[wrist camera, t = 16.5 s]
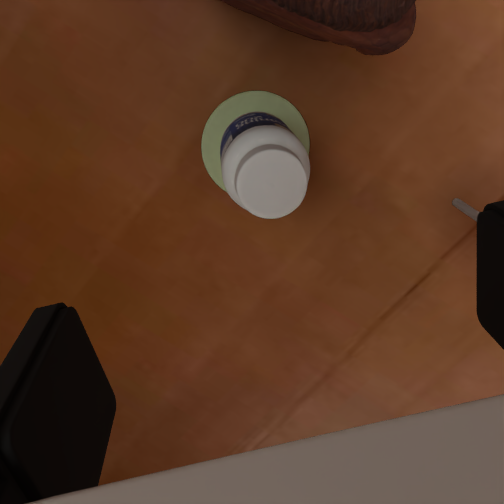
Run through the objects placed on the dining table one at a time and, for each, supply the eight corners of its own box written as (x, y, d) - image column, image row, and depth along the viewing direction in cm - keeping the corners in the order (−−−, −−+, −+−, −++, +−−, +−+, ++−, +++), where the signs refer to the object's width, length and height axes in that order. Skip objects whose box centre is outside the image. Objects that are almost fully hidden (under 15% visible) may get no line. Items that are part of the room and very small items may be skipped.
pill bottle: (299, 117, 34) (331, 145, 25) (283, 187, 36) (307, 237, 27) (226, 102, 33) (232, 127, 24) (213, 176, 35) (215, 222, 26)
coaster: (189, 104, 33) (188, 105, 33) (299, 79, 33) (300, 79, 33) (215, 208, 37) (216, 210, 36) (316, 186, 37) (317, 187, 36)
